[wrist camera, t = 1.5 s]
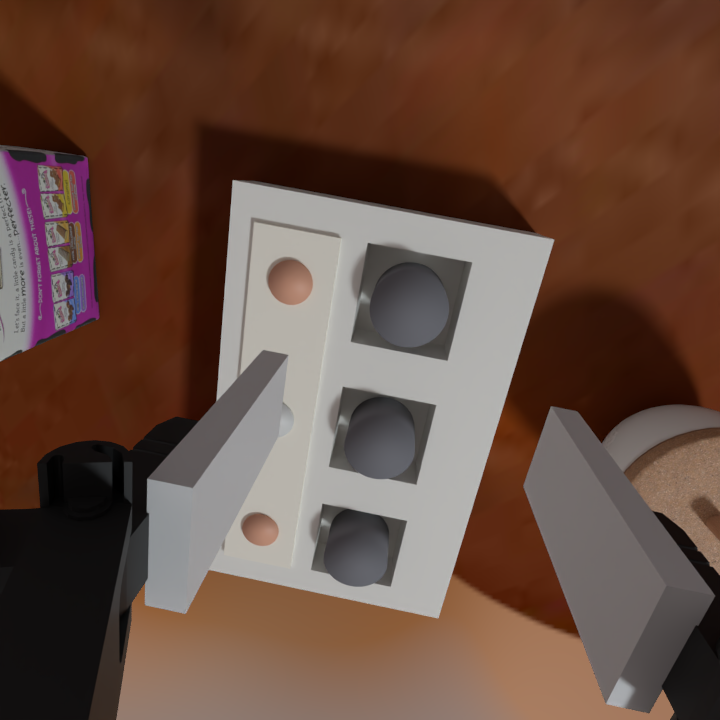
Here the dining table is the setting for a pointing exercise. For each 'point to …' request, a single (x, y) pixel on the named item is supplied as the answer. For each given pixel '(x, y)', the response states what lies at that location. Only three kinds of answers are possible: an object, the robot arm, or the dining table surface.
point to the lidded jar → (675, 467)
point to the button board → (368, 379)
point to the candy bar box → (44, 247)
